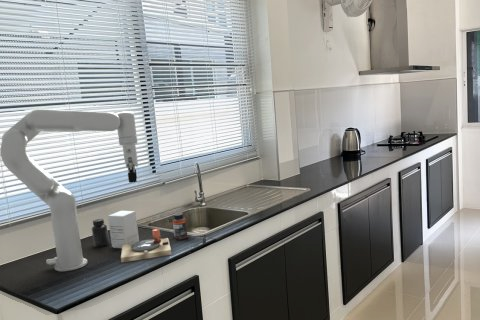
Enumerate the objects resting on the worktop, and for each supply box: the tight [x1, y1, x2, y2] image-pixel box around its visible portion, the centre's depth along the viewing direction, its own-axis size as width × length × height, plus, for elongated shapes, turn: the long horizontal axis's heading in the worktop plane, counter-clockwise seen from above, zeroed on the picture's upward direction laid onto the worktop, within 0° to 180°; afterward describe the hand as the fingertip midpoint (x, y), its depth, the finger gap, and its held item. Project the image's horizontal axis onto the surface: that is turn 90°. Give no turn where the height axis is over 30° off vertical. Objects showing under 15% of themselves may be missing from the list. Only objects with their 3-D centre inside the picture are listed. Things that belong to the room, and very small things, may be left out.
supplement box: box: [107, 210, 140, 249], centre depth 202 cm, size 9×9×15 cm
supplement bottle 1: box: [91, 218, 110, 248], centre depth 205 cm, size 7×7×12 cm
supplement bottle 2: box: [172, 212, 188, 240], centre depth 205 cm, size 6×6×11 cm
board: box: [120, 237, 172, 263], centre depth 190 cm, size 20×18×3 cm
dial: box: [131, 228, 162, 251], centre depth 189 cm, size 13×12×7 cm
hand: (133, 180), depth 192 cm, fingers open, 9 cm apart
